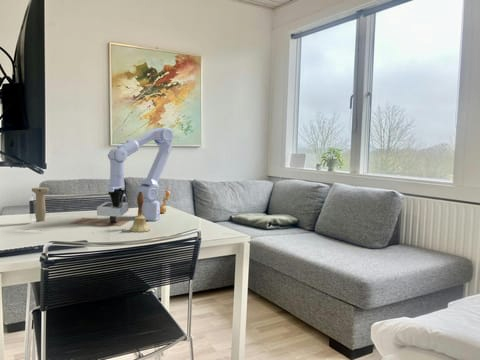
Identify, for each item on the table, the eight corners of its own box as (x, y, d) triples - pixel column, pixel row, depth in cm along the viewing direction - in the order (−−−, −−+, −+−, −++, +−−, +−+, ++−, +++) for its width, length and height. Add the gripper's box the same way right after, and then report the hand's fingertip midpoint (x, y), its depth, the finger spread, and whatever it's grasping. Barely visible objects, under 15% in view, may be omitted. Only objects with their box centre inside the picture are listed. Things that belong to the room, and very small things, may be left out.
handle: (48, 223, 170) (48, 188, 168) (31, 224, 167) (31, 188, 166) (49, 221, 174) (49, 187, 173) (32, 222, 172) (32, 187, 170)
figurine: (156, 211, 208) (157, 188, 207) (167, 211, 211) (168, 188, 210) (160, 214, 201) (161, 190, 200) (172, 214, 204) (172, 190, 202)
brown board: (130, 222, 179) (130, 209, 179) (120, 228, 166) (120, 214, 166) (82, 219, 180) (82, 206, 180) (68, 225, 167) (68, 211, 167)
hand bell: (127, 228, 167) (128, 190, 166) (147, 227, 171) (148, 190, 169) (131, 232, 160) (131, 193, 158) (151, 231, 163) (152, 193, 162)
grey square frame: (128, 210, 177) (128, 202, 177) (120, 216, 168) (120, 208, 167) (106, 209, 178) (106, 201, 177) (97, 215, 168) (96, 207, 167)
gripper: (114, 174, 183) (113, 203, 184) (101, 176, 168) (101, 208, 169) (129, 174, 182) (129, 204, 184) (117, 177, 168) (117, 209, 169)
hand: (116, 206), depth 176 cm, fingers closed on grey square frame, 2 cm apart
